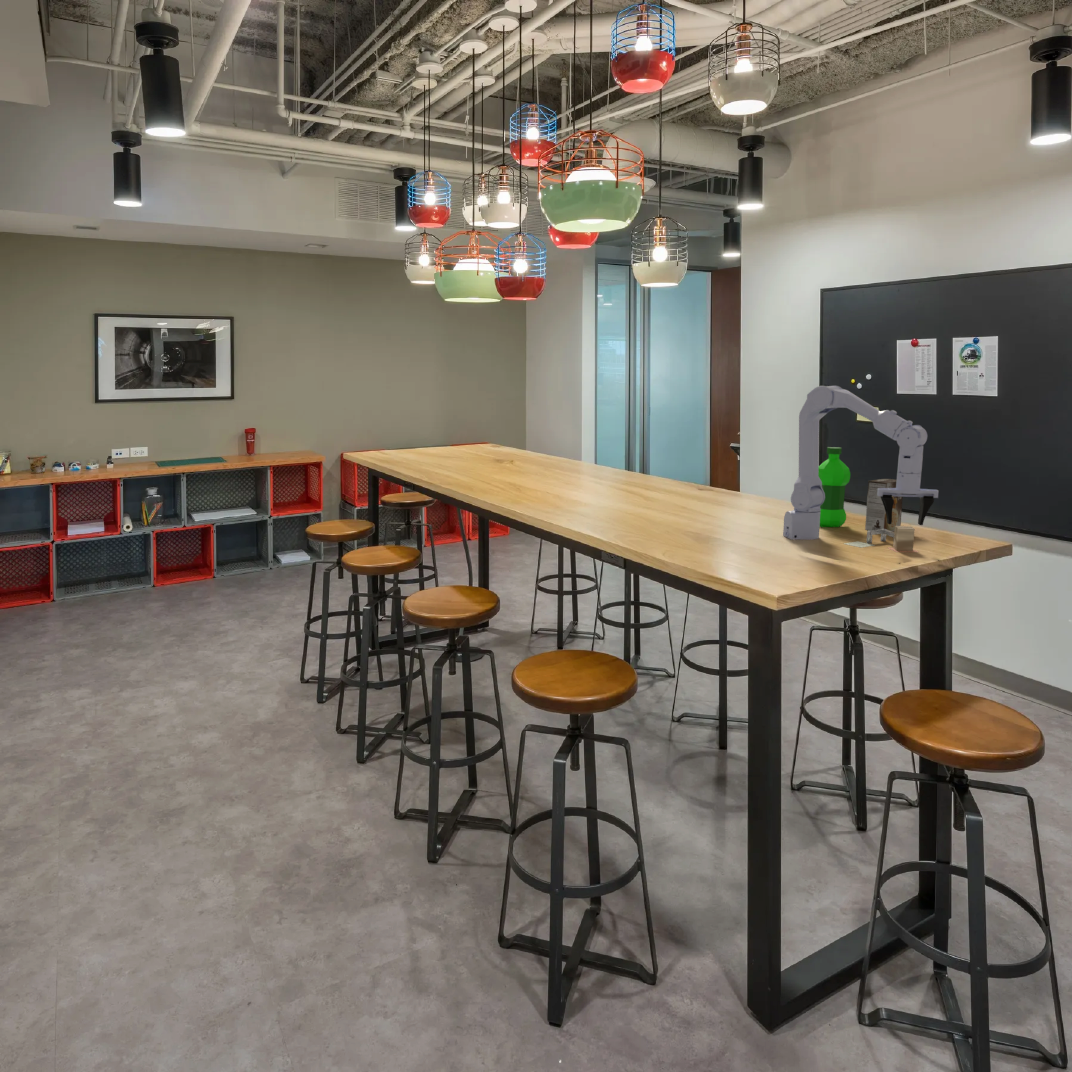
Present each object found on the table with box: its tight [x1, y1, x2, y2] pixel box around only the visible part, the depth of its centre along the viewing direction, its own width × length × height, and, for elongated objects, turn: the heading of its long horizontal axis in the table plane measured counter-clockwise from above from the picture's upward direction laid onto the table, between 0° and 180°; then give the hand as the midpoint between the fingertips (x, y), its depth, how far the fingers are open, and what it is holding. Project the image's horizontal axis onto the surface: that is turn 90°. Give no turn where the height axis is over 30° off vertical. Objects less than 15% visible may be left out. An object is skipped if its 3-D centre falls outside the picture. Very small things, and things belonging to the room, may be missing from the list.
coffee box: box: [864, 478, 904, 532], centre depth 244 cm, size 9×6×16 cm
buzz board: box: [843, 541, 919, 553], centre depth 221 cm, size 16×18×1 cm
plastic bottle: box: [818, 446, 851, 528], centre depth 252 cm, size 10×10×25 cm
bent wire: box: [865, 529, 895, 546], centre depth 223 cm, size 7×9×4 cm
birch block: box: [892, 525, 916, 553], centre depth 215 cm, size 4×4×6 cm
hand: (904, 524), depth 215 cm, fingers open, 7 cm apart
